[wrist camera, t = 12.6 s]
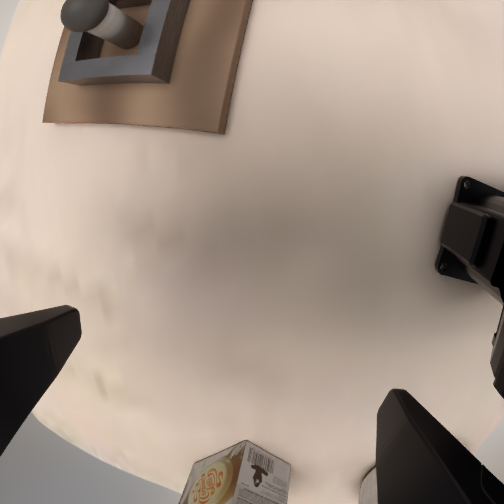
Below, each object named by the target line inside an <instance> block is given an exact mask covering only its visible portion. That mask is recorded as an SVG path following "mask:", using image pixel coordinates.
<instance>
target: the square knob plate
mask: <svg viewBox="0 0 504 504" xmlns="http://www.w3.org/2000/svg"><path fill="white" fill-rule="evenodd" d="M252 1H253V0H191V1H190V4H189V7H188V11H187V14H186V18H185V21H184V25H183V29H182V33H181V36H180V40H179V44H178V48H177V53H176V57H175V61H174V65H173V70H172V74H171V79H170V84H167V83H124V84H101V85H87V86H78V85H74V84H69V83H64V82H59V81H58V79H59V74H60V70H61V66H62V62H63V58H64V54H65V50H66V46H67V43H68V39H69V36H70V33H71V31H72V32H89V33H91V34H93V35H95V36H98V37H100V38H102V39H104V43H103V47H102V50H101V54H100V58H104V57H114V56H125V55H136V54H137V50H138V46H139V43H140V39H141V35H142V32H143V28H144V25H145V21H146V18H147V15H148V12H149V8H150V5H144V6H137V7H130V8H124V9H118V8H117V7H115V6H113V5H112V4H110V3H109V1H108V0H66V2H65V3H64V5H63V7H62V10H61V21H62V23H63V25H64V29H63V32H62V36H61V39H60V42H59V46H58V50H57V53H56V57H55V61H54V65H53V69H52V73H51V78H50V83H49V87H48V92H47V98H46V103H45V109H44V116H43V122H42V123H110V124H130V125H146V126H158V127H169V128H179V129H188V130H197V131H205V132H213V133H220V134H224V132H225V126H226V121H227V116H228V110H229V105H230V100H231V95H232V90H233V85H234V80H235V76H236V71H237V66H238V61H239V57H240V52H241V48H242V43H243V39H244V34H245V30H246V26H247V22H248V17H249V13H250V9H251V5H252Z"/></svg>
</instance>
